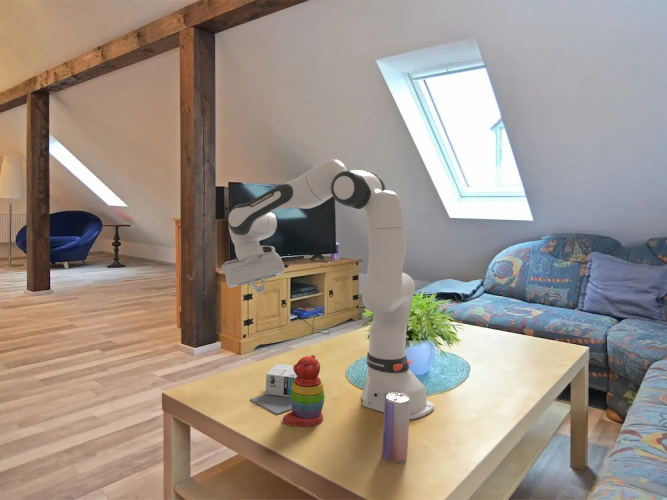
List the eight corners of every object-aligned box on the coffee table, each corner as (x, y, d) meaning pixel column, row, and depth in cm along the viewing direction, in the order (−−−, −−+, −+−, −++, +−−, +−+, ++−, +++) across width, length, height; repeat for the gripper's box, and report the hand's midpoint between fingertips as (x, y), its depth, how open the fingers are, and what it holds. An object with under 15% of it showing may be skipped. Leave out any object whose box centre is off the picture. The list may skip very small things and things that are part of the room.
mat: (316, 401, 150) (316, 399, 150) (277, 415, 140) (277, 413, 140) (289, 388, 159) (289, 386, 159) (250, 400, 149) (250, 399, 149)
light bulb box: (264, 394, 152) (298, 399, 150) (265, 373, 151) (299, 378, 149) (276, 382, 162) (307, 387, 160) (277, 362, 162) (309, 366, 159)
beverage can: (379, 460, 118) (382, 399, 116) (385, 448, 123) (388, 390, 122) (403, 466, 116) (407, 404, 114) (409, 454, 121) (412, 394, 119)
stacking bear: (299, 408, 145) (300, 348, 143) (330, 415, 141) (332, 354, 139) (279, 422, 135) (281, 359, 133) (312, 431, 131) (314, 366, 129)
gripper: (220, 259, 167) (230, 297, 162) (278, 245, 173) (290, 281, 168) (220, 266, 173) (230, 303, 168) (276, 252, 179) (288, 287, 174)
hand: (261, 292), depth 168 cm, fingers closed
